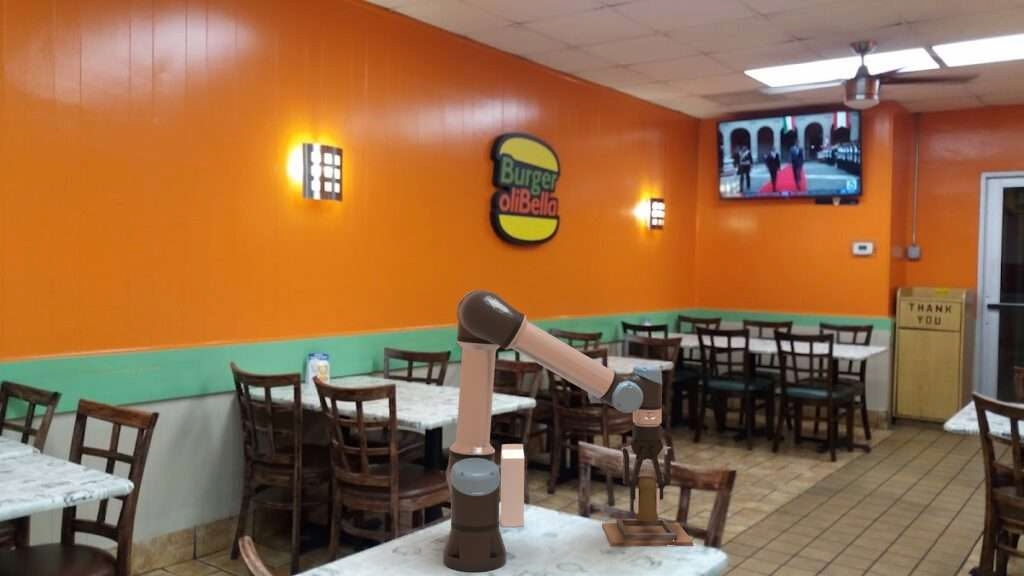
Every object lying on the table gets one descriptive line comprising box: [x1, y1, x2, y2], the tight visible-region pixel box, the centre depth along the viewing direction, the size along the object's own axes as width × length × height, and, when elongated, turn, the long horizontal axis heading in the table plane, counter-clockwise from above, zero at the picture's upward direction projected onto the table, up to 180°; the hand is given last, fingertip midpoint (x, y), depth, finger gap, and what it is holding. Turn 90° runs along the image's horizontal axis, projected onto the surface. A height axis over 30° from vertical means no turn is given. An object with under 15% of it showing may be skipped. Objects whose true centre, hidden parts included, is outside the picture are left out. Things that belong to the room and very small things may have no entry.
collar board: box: [601, 518, 694, 547], centre depth 217 cm, size 21×16×2 cm
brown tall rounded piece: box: [634, 475, 659, 522], centre depth 216 cm, size 6×6×11 cm
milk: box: [500, 443, 525, 528], centre depth 226 cm, size 6×6×22 cm
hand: (646, 511), depth 217 cm, fingers closed on brown tall rounded piece, 5 cm apart
